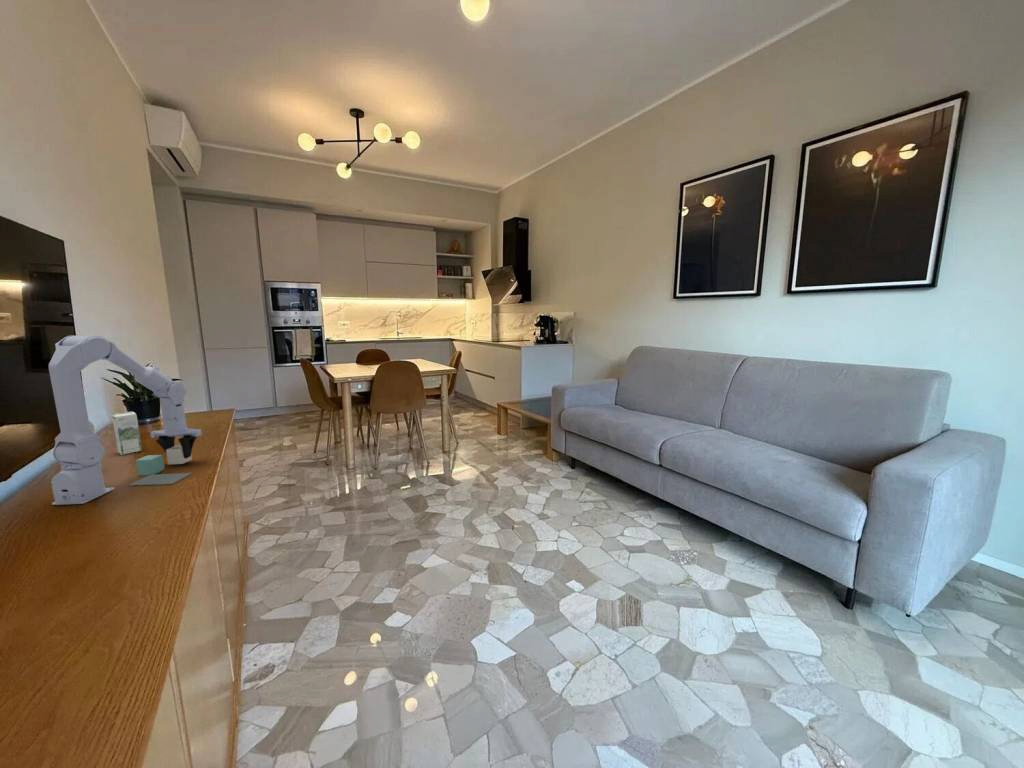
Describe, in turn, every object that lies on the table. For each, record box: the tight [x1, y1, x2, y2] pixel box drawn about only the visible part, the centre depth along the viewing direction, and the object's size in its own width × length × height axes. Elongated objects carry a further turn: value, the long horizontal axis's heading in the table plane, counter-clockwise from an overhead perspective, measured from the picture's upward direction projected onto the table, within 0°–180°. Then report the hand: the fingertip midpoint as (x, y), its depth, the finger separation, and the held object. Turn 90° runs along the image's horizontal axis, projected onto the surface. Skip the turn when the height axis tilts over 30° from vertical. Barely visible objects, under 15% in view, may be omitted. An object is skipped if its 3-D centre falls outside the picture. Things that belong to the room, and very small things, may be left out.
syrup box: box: [111, 411, 143, 456], centre depth 149 cm, size 6×6×14 cm
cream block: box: [165, 444, 193, 465], centre depth 137 cm, size 4×4×5 cm
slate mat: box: [128, 472, 192, 487], centre depth 124 cm, size 8×12×1 cm, turn 94°
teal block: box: [135, 454, 165, 476], centre depth 130 cm, size 4×4×5 cm
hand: (179, 457), depth 137 cm, fingers closed on cream block, 4 cm apart
